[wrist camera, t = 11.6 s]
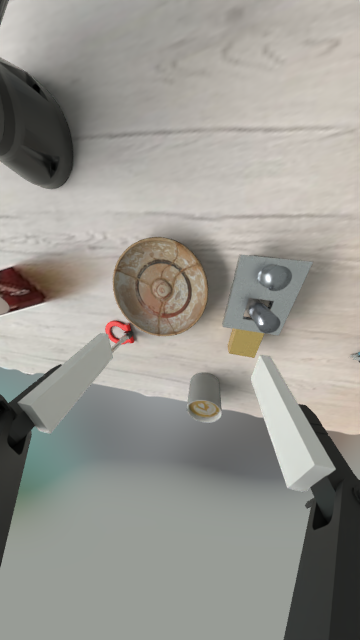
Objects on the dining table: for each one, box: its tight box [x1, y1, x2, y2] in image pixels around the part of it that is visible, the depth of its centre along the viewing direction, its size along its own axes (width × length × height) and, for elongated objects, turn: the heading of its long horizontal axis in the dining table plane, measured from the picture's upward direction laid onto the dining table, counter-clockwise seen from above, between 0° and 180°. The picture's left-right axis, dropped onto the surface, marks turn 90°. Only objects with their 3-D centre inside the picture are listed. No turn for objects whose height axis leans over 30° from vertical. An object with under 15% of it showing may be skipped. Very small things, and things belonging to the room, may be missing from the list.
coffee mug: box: [187, 373, 222, 422], centre depth 47 cm, size 13×10×10 cm
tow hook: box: [105, 321, 134, 353], centre depth 42 cm, size 8×13×9 cm
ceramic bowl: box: [113, 237, 208, 336], centre depth 36 cm, size 23×24×5 cm
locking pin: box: [246, 298, 280, 333], centre depth 30 cm, size 3×3×13 cm
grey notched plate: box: [222, 255, 313, 358], centre depth 32 cm, size 22×12×10 cm, turn 175°
